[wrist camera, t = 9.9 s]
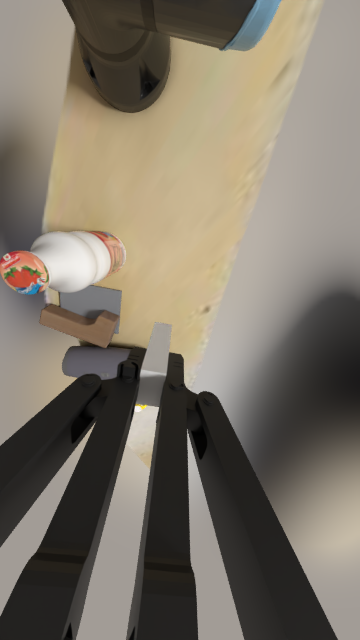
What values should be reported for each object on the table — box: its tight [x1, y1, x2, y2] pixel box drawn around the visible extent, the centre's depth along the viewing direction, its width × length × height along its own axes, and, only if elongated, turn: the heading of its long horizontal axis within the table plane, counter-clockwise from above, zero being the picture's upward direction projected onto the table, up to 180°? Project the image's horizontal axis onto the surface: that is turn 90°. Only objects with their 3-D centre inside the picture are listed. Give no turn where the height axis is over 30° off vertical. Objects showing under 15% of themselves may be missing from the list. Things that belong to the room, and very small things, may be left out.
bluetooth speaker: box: [62, 346, 132, 380], centre depth 55 cm, size 23×9×10 cm, turn 85°
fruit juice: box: [0, 231, 126, 294], centre depth 34 cm, size 9×9×28 cm
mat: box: [60, 285, 122, 334], centre depth 53 cm, size 13×16×1 cm
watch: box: [134, 404, 147, 412], centre depth 63 cm, size 6×3×6 cm, turn 77°
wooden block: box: [39, 304, 120, 348], centre depth 51 cm, size 9×4×18 cm
